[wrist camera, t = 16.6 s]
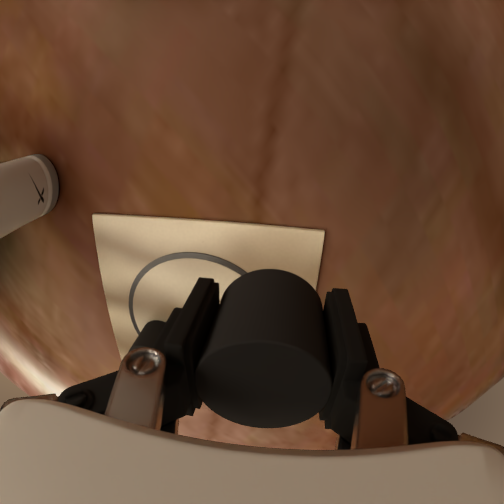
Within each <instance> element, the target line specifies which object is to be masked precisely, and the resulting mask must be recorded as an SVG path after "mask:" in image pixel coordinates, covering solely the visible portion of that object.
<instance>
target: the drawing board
mask: <svg viewBox="0 0 504 504" xmlns="http://www.w3.org/2000/svg"><path fill="white" fill-rule="evenodd" d="M92 219H93V227H94V235H95V242H96V248H97V255H98V261H99V267H100V272H101V277H102V283H103V288H104V293H105V297H106V302H107V306H108V311H109V315H110V319H111V323H112V327H113V331H114V335H115V339H116V342H117V346H118V350H119V353H120V357H121V360H122V359H123V358H124V356H125V355H126V354H127V353H128V352H129V349H130V348H131V346H132V345H133V343H134V342H135V340H136V338H137V337H138V335H139V334H140V332H141V331H142V329H143V328H144V326H145V325H146V323H148V322H150V321H152V320H160V321H164V322H166V321H167V320H168V318H169V316H170V314H171V313H172V311H173V309H174V308H176V307H178V308H183V306H184V304H185V302H186V300H187V298H188V297H189V295H190V293H191V291H192V289H193V287H194V286H195V284H196V282H197V280H198V278H199V277H203V278H213V279H214V282H216V283H219V299H220V301H221V298H222V296H223V294H224V292H225V290H226V289H227V287H228V286H229V285H230V284H231V283H232V282H233V281H234V280H236V279H237V278H239V277H240V276H242V275H244V274H246V273H249V272H252V271H255V270H260V269H279V270H284V271H288V272H291V273H293V274H296V275H298V276H299V277H301V278H303V279H304V280H306V281H307V282H308V283H309V284H310V285H311V286H312V287H313V288H314V289H315V291H316V286H317V280H318V274H319V268H320V262H321V255H322V249H323V242H324V235H325V231H324V230H318V229H308V228H297V227H286V226H275V225H263V224H251V223H239V222H226V221H213V220H199V219H184V218H169V217H152V216H135V215H116V214H95V213H94V214H92Z"/></svg>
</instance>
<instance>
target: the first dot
mask: <svg viewBox="0 0 504 504" xmlns="http://www.w3.org/2000/svg"><path fill="white" fill-rule="evenodd" d="M165 323H166V322H164V321H160V320H152V321H150V322H148V323H146V325H145V326H144V328H143V329H142V331H141V332H140V334H139V335H138V337H137V338H136V340H135V342H134V343H133V345H132V346H131V348H130V349H129V352H130V351H132V350H134V349H137V348H142V347H149V348H152V346H153V345H154V343H155V341H156V339H157V337H158V336H159V334H160V332H161V330H162V328H163V327H164V325H165Z"/></svg>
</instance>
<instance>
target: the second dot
mask: <svg viewBox="0 0 504 504" xmlns="http://www.w3.org/2000/svg"><path fill="white" fill-rule="evenodd" d="M194 378H195V386H196V390H197V393H198V395H199V396H200V398H201V400H202V401H203V402H204V403H205V404H206V405H207V406H208V407H209V408H210V409H211V410H212V411H214V412H215V413H216V414H218V415H220V416H221V417H223V418H225V419H227V420H230V421H232V422H235V423H238V424H241V425H245V426H250V427H257V428H280V427H286V426H291V425H295V424H298V423H301V422H303V421H305V420H307V419H310V418H311V417H313V416H314V415H316V414H317V413H318V412H320V411H321V410H322V409H323V407H324V406H325V405H326V404H327V402H328V399H329V396H330V393H331V390H332V375H331V366H330V358H329V350H328V343H327V335H326V328H325V321H324V314H323V308H322V303H321V300H320V297H319V295H318V294H317V292H316V291H315V289H314V288H313V287H312V286H311V285H310V284H309V283H308V282H307V281H306V280H304V279H303V278H301V277H299V276H298V275H296V274H293V273H291V272H288V271H284V270H279V269H260V270H255V271H252V272H249V273H246V274H244V275H242V276H240V277H239V278H237V279H236V280H234V281H233V282H232V283H231V284H230V285H229V286H228V287H227V289H226V290H225V292H224V294H223V296H222V298H221V301H220V304H219V306H218V309H217V312H216V315H215V317H214V320H213V323H212V326H211V328H210V331H209V334H208V336H207V339H206V342H205V345H204V347H203V350H202V353H201V356H200V359H199V361H198V364H197V367H196V370H195V376H194Z"/></svg>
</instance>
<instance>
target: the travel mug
mask: <svg viewBox="0 0 504 504" xmlns="http://www.w3.org/2000/svg"><path fill="white" fill-rule="evenodd" d="M58 193H59V182H58V177H57V173H56V170H55V168H54V166H53V165H52V163H51V162H50V161H49V160H48V159H47V158H46V157H45V156H43V155H40V154H34V155H30V156H26V157H22V158H19V159H15V160H11V161H8V162H4V163H1V164H0V238H2V237H4V236H5V235H7V234H9V233H11V232H12V231H14V230H16V229H18V228H20V227H22V226H24V225H25V224H27V223H29V222H31V221H33V220H35V219H37V218H39V217H41V216H43V215H45V214H47V213H49V212H50V211H51V210H52V209H53V208H54V206H55V204H56V202H57V198H58Z"/></svg>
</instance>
